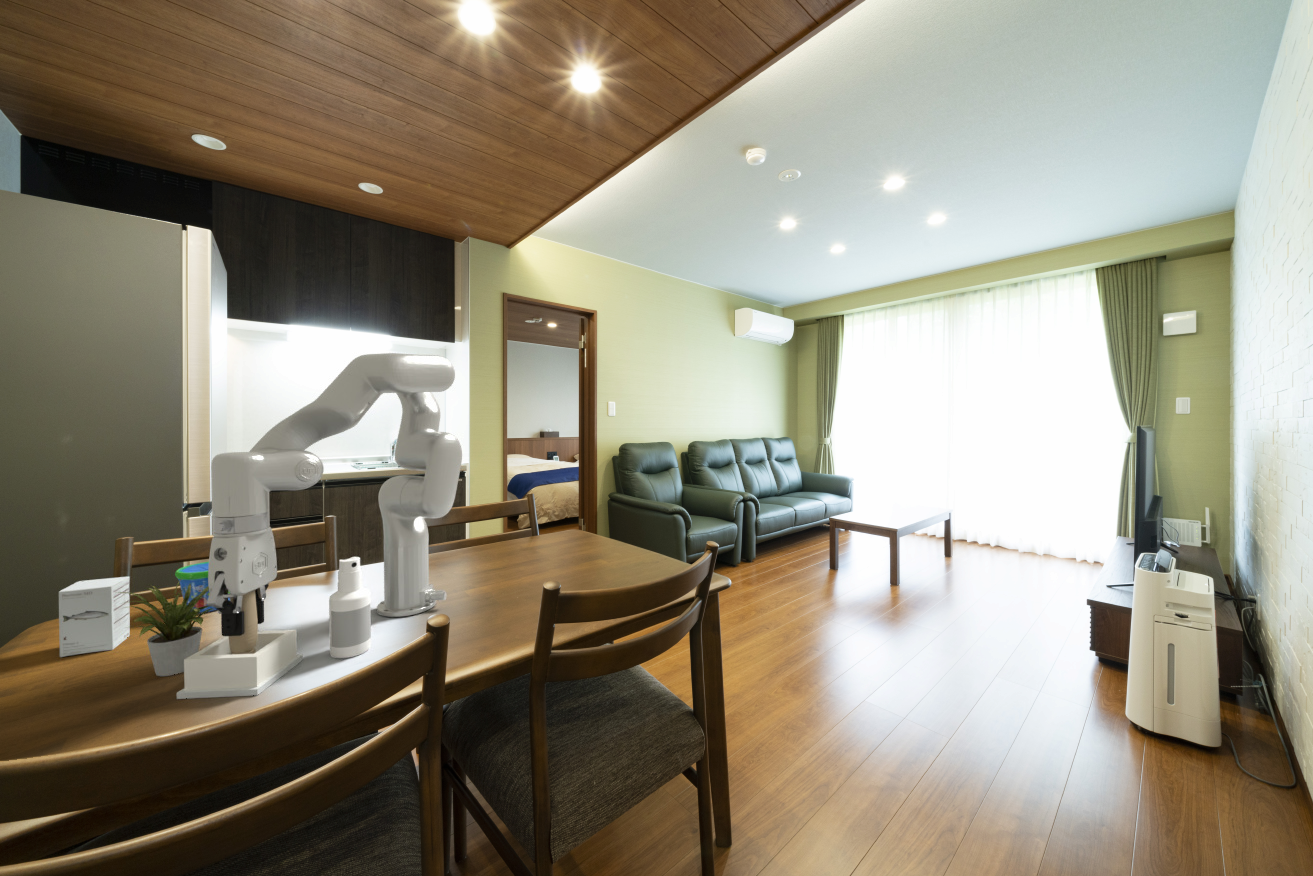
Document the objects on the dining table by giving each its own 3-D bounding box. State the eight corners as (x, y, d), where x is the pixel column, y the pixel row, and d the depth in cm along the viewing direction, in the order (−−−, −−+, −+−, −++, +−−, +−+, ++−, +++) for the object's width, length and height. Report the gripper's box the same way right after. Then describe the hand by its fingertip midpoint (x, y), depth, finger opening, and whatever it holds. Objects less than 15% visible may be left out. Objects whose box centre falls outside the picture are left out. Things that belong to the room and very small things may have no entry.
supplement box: (57, 658, 91) (55, 591, 91) (80, 642, 98) (78, 580, 97) (113, 650, 95) (111, 585, 94) (132, 635, 101) (130, 574, 101)
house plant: (83, 701, 78) (80, 599, 77) (134, 661, 90) (131, 573, 90) (199, 682, 83) (197, 587, 83) (231, 647, 96) (230, 565, 95)
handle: (269, 648, 89) (268, 566, 88) (250, 665, 82) (249, 577, 82) (237, 651, 87) (235, 568, 87) (216, 669, 81) (214, 579, 81)
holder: (302, 659, 92) (302, 627, 91) (257, 695, 80) (256, 659, 80) (233, 662, 90) (232, 630, 90) (176, 698, 78) (175, 662, 78)
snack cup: (163, 610, 114) (162, 567, 114) (219, 596, 124) (218, 556, 123) (194, 623, 107) (193, 577, 107) (251, 607, 117) (251, 564, 116)
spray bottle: (340, 662, 91) (339, 566, 90) (322, 653, 94) (321, 560, 94) (378, 648, 96) (377, 557, 96) (359, 639, 100) (358, 552, 99)
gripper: (228, 535, 76) (230, 651, 77) (295, 514, 93) (297, 610, 93) (175, 535, 75) (177, 652, 76) (253, 515, 92) (254, 611, 93)
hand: (243, 628), depth 85 cm, fingers closed on handle, 4 cm apart
